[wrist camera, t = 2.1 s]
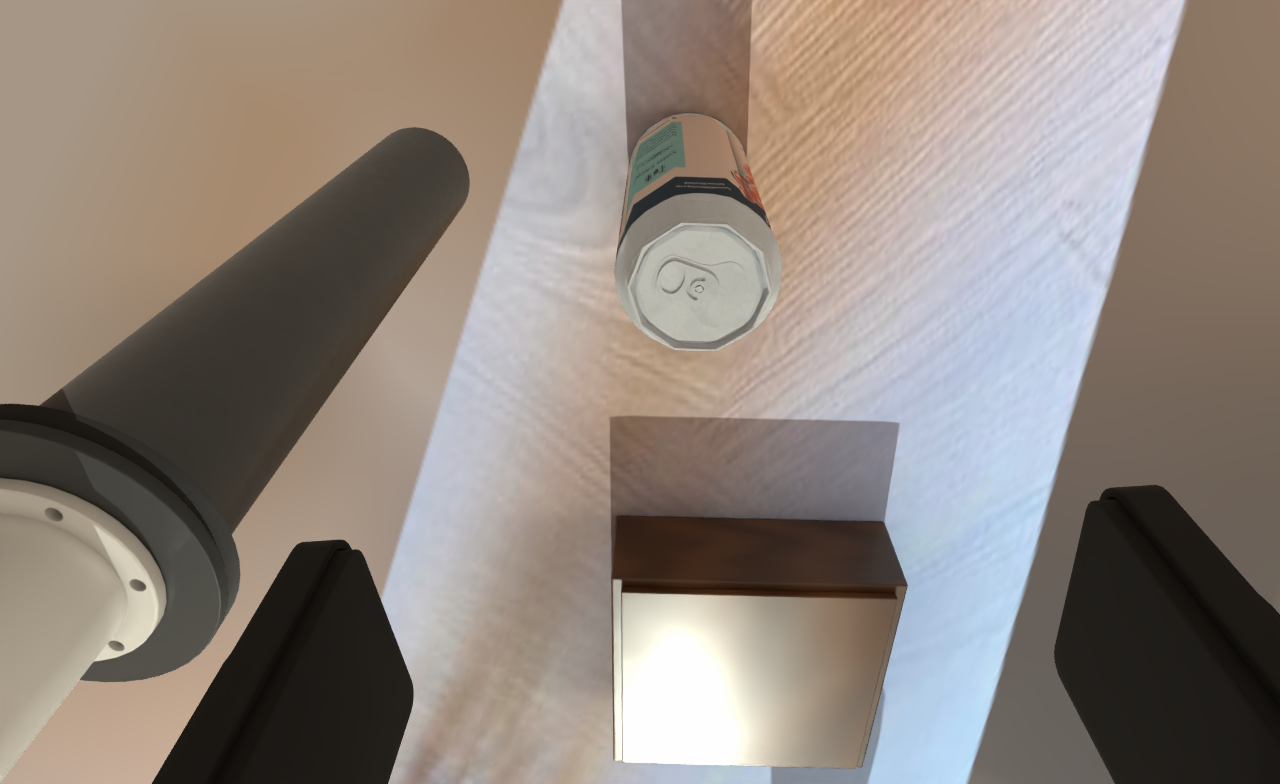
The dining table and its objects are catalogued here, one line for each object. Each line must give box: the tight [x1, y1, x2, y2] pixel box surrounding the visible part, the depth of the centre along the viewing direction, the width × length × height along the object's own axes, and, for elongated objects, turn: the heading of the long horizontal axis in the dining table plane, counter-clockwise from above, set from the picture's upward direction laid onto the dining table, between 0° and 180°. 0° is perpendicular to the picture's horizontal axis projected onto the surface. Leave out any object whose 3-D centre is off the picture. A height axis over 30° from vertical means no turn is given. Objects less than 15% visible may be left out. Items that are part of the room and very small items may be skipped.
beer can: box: [614, 113, 782, 351], centre depth 27 cm, size 5×5×12 cm
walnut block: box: [611, 516, 908, 769], centre depth 43 cm, size 14×14×5 cm
